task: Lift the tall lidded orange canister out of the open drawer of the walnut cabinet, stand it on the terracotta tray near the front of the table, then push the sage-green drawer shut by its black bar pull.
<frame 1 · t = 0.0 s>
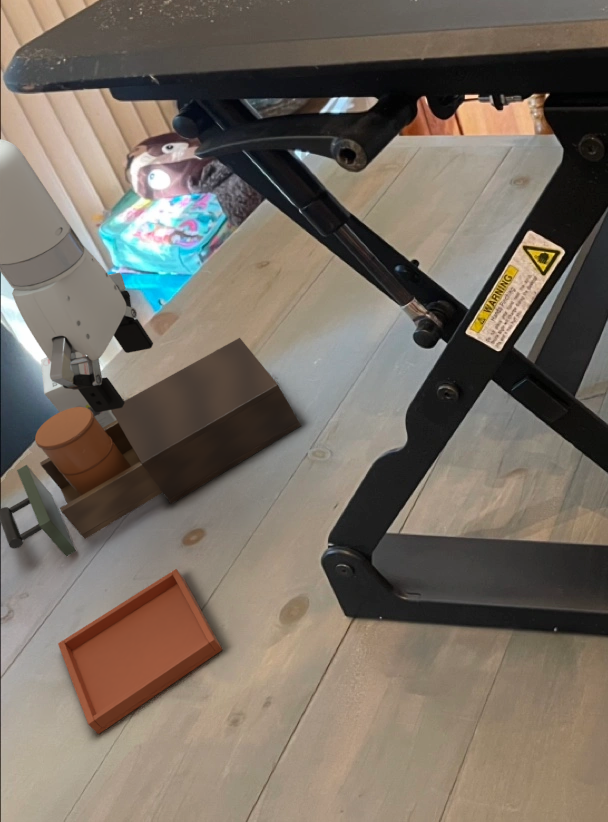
hand: (125, 377, 118), 21 cm above the table, tool pointing down, fingers open, 9 cm apart
tray: (144, 651, 115), on the table
cabinet: (220, 437, 140), on the table
ink box: (107, 430, 145), on the table
drawer: (92, 483, 131), point 4 cm above the table, slide at 11.0 cm, touching lidded orange canister
lidded orange canister: (110, 486, 133), point 2 cm above the table, touching drawer
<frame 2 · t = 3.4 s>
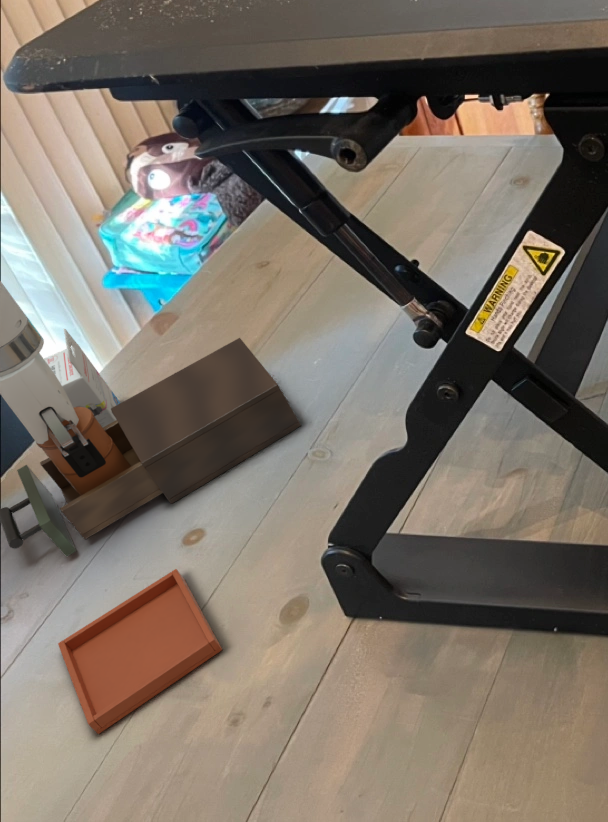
hand: (85, 453, 129), 8 cm above the table, tool pointing down, fingers closed on lidded orange canister, 6 cm apart
lidded orange canister: (110, 486, 133), point 2 cm above the table, touching drawer, gripper
everything else where it was.
when the fingers open (7 cm above the table, at t = 11.7 s): lidded orange canister stays where it is, resting on tray.
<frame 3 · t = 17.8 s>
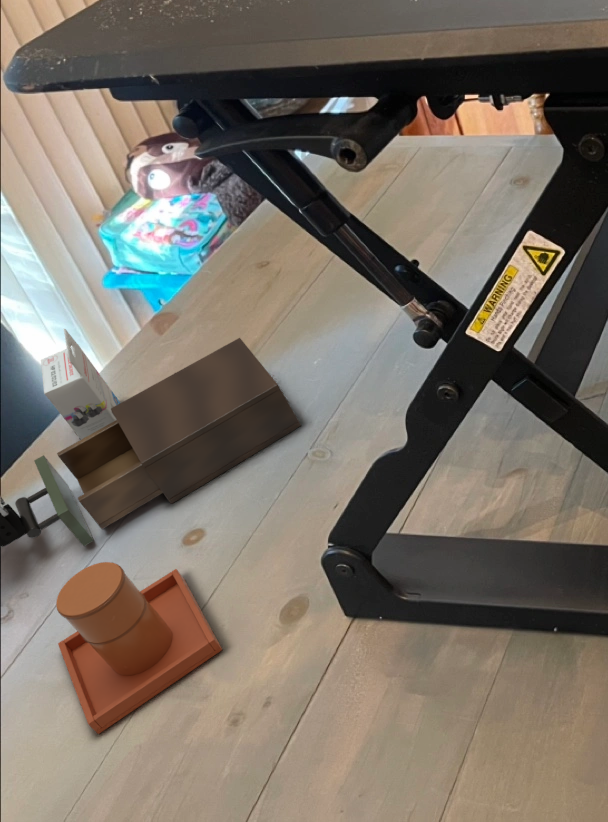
hand: (14, 536, 128), 3 cm above the table, tool pointing down, fingers closed
drawer: (109, 473, 132), point 4 cm above the table, slide at 8.9 cm
lidded orange canister: (142, 649, 114), resting on tray
everything else where it was.
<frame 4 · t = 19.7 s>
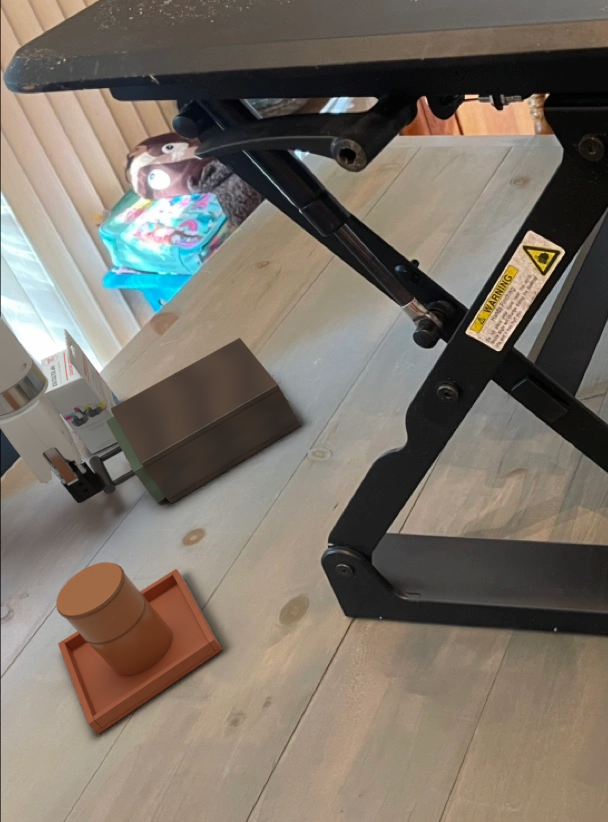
hand: (90, 493, 132), 3 cm above the table, tool pointing down, fingers closed
drawer: (178, 433, 136), point 4 cm above the table, slide at 0.0 cm, touching cabinet, gripper
everything else where it was.
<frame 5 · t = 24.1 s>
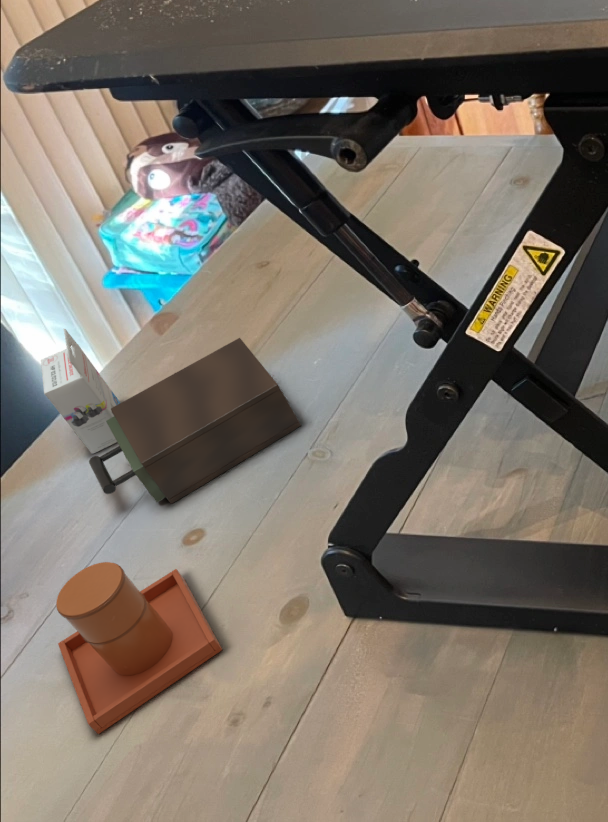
drawer: (178, 433, 136), point 4 cm above the table, slide at 0.0 cm, touching cabinet
everything else where it was.
at the end: lidded orange canister inside the target area in the tray (0.1 cm from its centre), point 0.5 cm above the tray's base; lidded orange canister tilted 0°; drawer slide at 0.0 cm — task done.
